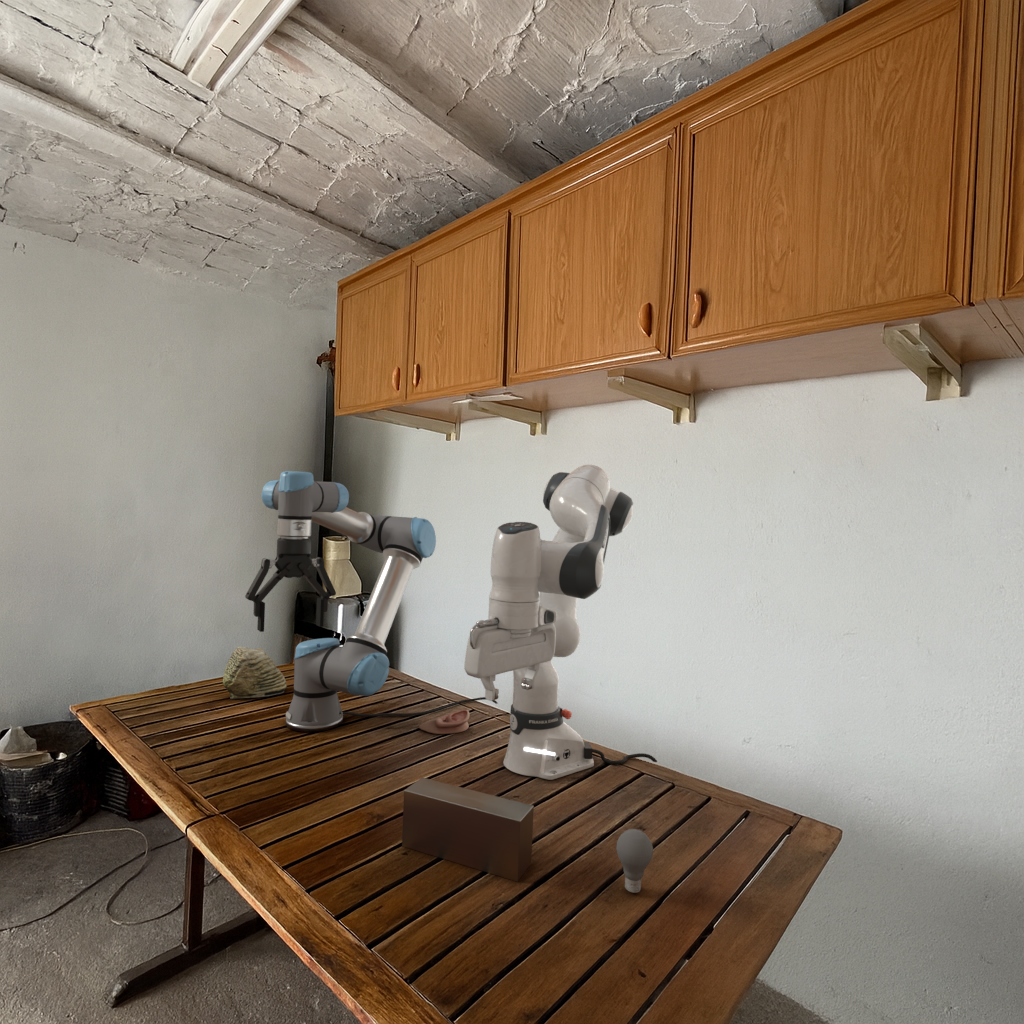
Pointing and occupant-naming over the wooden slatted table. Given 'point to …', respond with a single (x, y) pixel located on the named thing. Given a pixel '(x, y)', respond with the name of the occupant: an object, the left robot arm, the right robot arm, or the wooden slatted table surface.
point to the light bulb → (634, 857)
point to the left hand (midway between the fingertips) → (290, 628)
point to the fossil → (252, 674)
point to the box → (468, 827)
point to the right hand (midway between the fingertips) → (510, 693)
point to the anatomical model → (447, 723)
